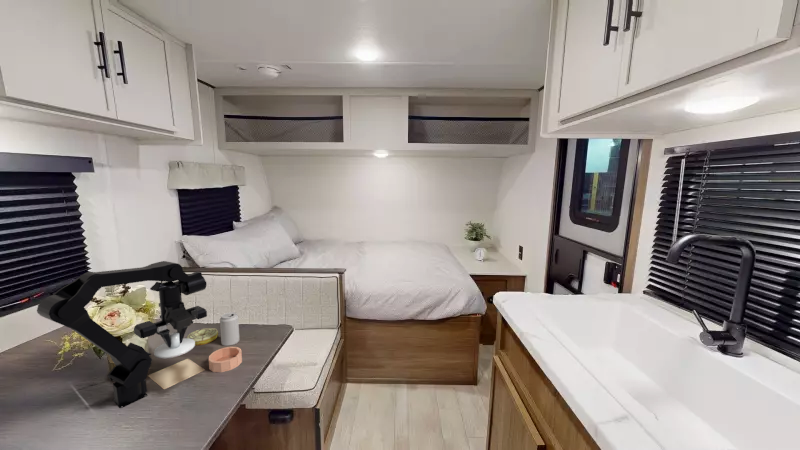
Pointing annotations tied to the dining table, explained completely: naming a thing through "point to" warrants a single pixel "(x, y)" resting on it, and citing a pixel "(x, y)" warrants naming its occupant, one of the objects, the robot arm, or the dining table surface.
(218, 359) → the bowl
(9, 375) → the dining table surface
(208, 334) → the decorated donut
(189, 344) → the lid
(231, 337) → the beverage can
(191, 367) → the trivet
